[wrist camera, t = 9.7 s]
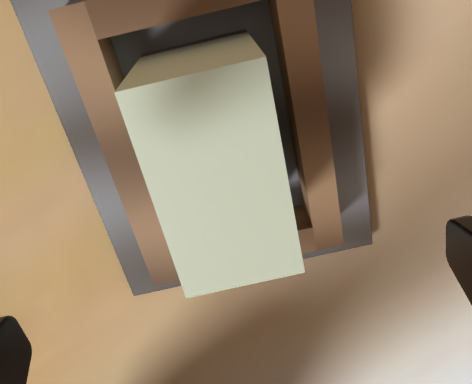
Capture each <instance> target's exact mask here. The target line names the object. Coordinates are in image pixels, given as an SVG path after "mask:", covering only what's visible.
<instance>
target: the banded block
mask: <svg viewBox="0 0 472 384" xmlns="http://www.w3.org/2000/svg"><path fill="white" fill-rule="evenodd" d="M114 93H115V96H116V99H117V102H118V105H119V108H120V111H121V113H122V116H123V119H124V122H125V125H126V128H127V131H128V133H129V136H130V139H131V142H132V145H133V148H134V151H135V154H136V156H137V159H138V162H139V165H140V168H141V171H142V174H143V177H144V179H145V182H146V185H147V188H148V191H149V194H150V197H151V199H152V202H153V205H154V208H155V211H156V214H157V217H158V220H159V222H160V225H161V228H162V231H163V234H164V237H165V240H166V242H167V245H168V248H169V251H170V254H171V257H172V260H173V263H174V265H175V268H176V271H177V274H178V277H179V280H180V283H181V286H182V288H183V291H184V294H185V297H186V298H190V297H195V296H199V295H204V294H209V293H213V292H218V291H222V290H227V289H232V288H236V287H241V286H245V285H250V284H255V283H259V282H264V281H269V280H273V279H278V278H282V277H287V276H292V275H296V274H301V273H305V269H304V264H303V258H302V253H301V247H300V242H299V236H298V231H297V225H296V220H295V214H294V208H293V203H292V197H291V192H290V186H289V181H288V175H287V170H286V164H285V159H284V153H283V147H282V142H281V136H280V131H279V125H278V120H277V114H276V109H275V103H274V98H273V92H272V86H271V81H270V75H269V70H268V64H267V59H266V56H265V54H264V53H263V52H262V50H261V49H260V48H259V46H258V45H257V44H256V42H255V41H254V40H253V38H252V37H251V36H250V34H249V33H248V32H247V30H246V29H244V30H240V31H236V32H232V33H228V34H223V35H219V36H215V37H211V38H207V39H202V40H198V41H194V42H190V43H186V44H182V45H177V46H173V47H169V48H165V49H161V50H157V51H152V52H148V53H144V54H142V56H141V57H140V58H139V60H138V61H137V62H136V64H135V65H134V66H133V68H132V69H131V70H130V72H129V73H128V74H127V76H126V77H125V79H124V80H123V81H122V83H121V84H120V85H119V87H118V88H117V89H116V91H115V92H114Z"/></svg>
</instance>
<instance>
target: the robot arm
mask: <svg viewBox="0 0 472 384" xmlns="http://www.w3.org/2000/svg"><path fill="white" fill-rule="evenodd" d="M446 257H447V261H448V263H449V266H450V267H451V269H452V271H453V273H454V275H455V276H456V278H457V280H458V282H459V283H460V285H461V287H462V289H463V291H464V292H465V294H466V296H467V298H468V299H469V301H470V303H471V305H472V216H463V217H458V218H454V219H450V220H449V221H448V222H447V225H446ZM31 356H32V348H31V344H30V342H29V340H28V338H27V337H26V335H25V333H24V332H23V330H22V328H21V327H20V325H19V323H18V322H17V320H16V319H15V318H14V317H12V316H4V317H0V384H26V382H27V377H28V372H29V366H30V361H31Z"/></svg>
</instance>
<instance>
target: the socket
mask: <svg viewBox="0 0 472 384" xmlns="http://www.w3.org/2000/svg"><path fill="white" fill-rule="evenodd" d="M10 1H11V4H12V6H13V9H14V11H15V13H16V16H17V18H18V21H19V23H20V25H21V28H22V30H23V32H24V35H25V37H26V40H27V42H28V44H29V47H30V49H31V52H32V54H33V56H34V59H35V61H36V63H37V66H38V68H39V71H40V73H41V75H42V78H43V80H44V83H45V85H46V87H47V90H48V92H49V94H50V97H51V99H52V102H53V104H54V106H55V109H56V111H57V114H58V116H59V118H60V121H61V123H62V126H63V128H64V130H65V133H66V135H67V137H68V140H69V142H70V145H71V147H72V149H73V152H74V154H75V157H76V159H77V161H78V164H79V166H80V168H81V171H82V173H83V176H84V178H85V180H86V183H87V185H88V188H89V190H90V192H91V195H92V197H93V199H94V202H95V204H96V207H97V209H98V211H99V214H100V216H101V219H102V221H103V223H104V226H105V228H106V230H107V233H108V235H109V238H110V240H111V242H112V245H113V247H114V250H115V252H116V254H117V257H118V259H119V262H120V264H121V266H122V269H123V271H124V273H125V276H126V278H127V281H128V283H129V285H130V288H131V290H132V293H133V295H134V296H136V295H141V294H145V293H150V292H154V291H159V290H164V289H168V288H173V287H177V286H181V283H180V280H179V277H178V274H177V271H176V268H175V265H174V263H173V260H172V257H171V254H170V251H169V248H168V245H167V242H166V240H165V237H164V234H163V231H162V228H161V225H160V222H159V220H158V217H157V214H156V211H155V208H154V205H153V202H152V199H151V197H150V194H149V191H148V188H147V185H146V182H145V179H144V177H143V174H142V171H141V168H140V165H139V162H138V159H137V156H136V154H135V151H134V148H133V145H132V142H131V139H130V136H129V133H128V131H127V128H126V125H125V122H124V119H123V116H122V113H121V111H120V108H119V105H118V102H117V99H116V96H115V93H114V92H115V91H116V89H117V88H118V87H119V85H120V84H121V83H122V81H123V80H124V79H125V77H126V76H127V74H128V73H129V72H130V70H131V69H132V68H133V66H134V65H135V64H136V62H137V61H138V60H139V58H140V57H141V56H142V54H144V53H148V52H152V51H157V50H161V49H165V48H169V47H173V46H177V45H182V44H186V43H190V42H194V41H198V40H202V39H207V38H211V37H215V36H219V35H223V34H228V33H232V32H236V31H240V30H244V29H246V30H247V32H248V33H249V34H250V36H251V37H252V38H253V40H254V41H255V42H256V44H257V45H258V46H259V48H260V49H261V50H262V52H263V53H264V54H265V56H266V59H267V64H268V70H269V75H270V81H271V86H272V92H273V98H274V103H275V109H276V114H277V120H278V125H279V131H280V136H281V142H282V147H283V153H284V159H285V164H286V170H287V175H288V181H289V186H290V192H291V197H292V203H293V208H294V214H295V220H296V225H297V231H298V236H299V242H300V247H301V253H302V258H303V259H305V258H310V257H314V256H319V255H324V254H328V253H333V252H337V251H342V250H346V249H351V248H356V247H360V246H365V245H369V244H372V233H371V222H370V211H369V200H368V189H367V177H366V166H365V155H364V144H363V133H362V121H361V110H360V99H359V88H358V77H357V65H356V54H355V43H354V32H353V21H352V9H351V0H10Z"/></svg>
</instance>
